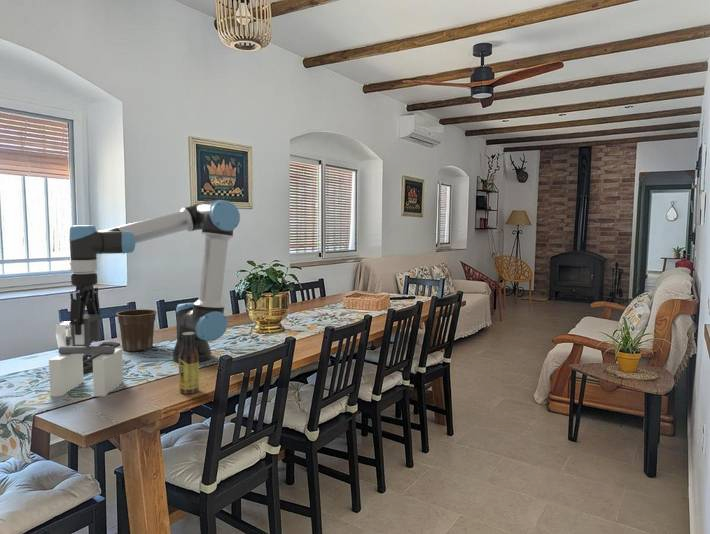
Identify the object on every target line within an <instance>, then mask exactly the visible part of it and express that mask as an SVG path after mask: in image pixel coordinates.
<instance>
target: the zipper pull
mask: <svg viewBox="0 0 710 534" xmlns="http://www.w3.org/2000/svg"><path fill="white" fill-rule="evenodd" d="M97 346H114V347H115V348H119V347H121V343H120V342H115V341H103V342H102V343H100V344H98V345H97ZM100 355H101V354H83V375H85V373H86V374H88V373H89V371H90V372H92V371H93V359H95V358H96V357H98V356H100ZM91 370H92V371H91ZM87 372H88V373H87Z"/></svg>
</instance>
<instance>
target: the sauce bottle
mask: <svg viewBox="0 0 710 534" xmlns="http://www.w3.org/2000/svg"><path fill="white" fill-rule="evenodd" d="M182 338H183V345H182V349H181V352H180V355H179V362H178V386H179V387H178V388H179V393H182V394H183V395H190V394H195V393H197V392H198V391H199V388H200V368H199V367H200V362H199V360H198V351H197V349H196V348H195V341H194V339H195V333H194V332H185V333H182Z"/></svg>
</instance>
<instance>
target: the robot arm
mask: <svg viewBox="0 0 710 534" xmlns="http://www.w3.org/2000/svg"><path fill="white" fill-rule="evenodd" d="M240 221H241V214H240V211H239V209H238V208H237V206H236V204H234V203H233V202H232V201H229V200H224V199H217V200H205V201H201V202H198V203H196V204H192V205H190V206H185V207H182V208H181V209H180V211H177V212H173V213H167V214H165V215H160V216H156V217H151V218H149V219H144V220H140V221H135V222H132V223H127V224H123V225H120V226H119V225H118V226H116V227H111V228H108V229H99V230H97V229H96V226H95V225H84V224H83V225H79V224H77V225H76V224H74V225H71V226H70V228H69V239H68V240H69V250H70V251H69V252H70V262H69V265H70V272H72V273H71V274H70V279H71V280H70V281H71V285H72V286H75V292H70V315H69V316H70V317H69V321H70V324H71V325H74V328H75V345H84V344H85V334H84V324H82V323H83V317H84V314H85V311H86V312H87V314H99V319H101V308H100V307H101V306H100V300H99V288H98V287H94V285H97V284H98V274H97V271H98V260H97V257H98V255H102V254H103V255H104V254H105V255H107V254H108V255H109V254H111V255H112V254H122V255H124V254H130V253H134V251H135V248H136V244H139V243H142V242H146V241H149V240H153V239H158V238H162V237H165V236H169V235H173V234H176V233H180V232H183V231H184V232H185V231H187V232H189V233H190V232H194V231H199V230H201V234H202V235H203V237H204V247H203V256H202V265H201V273H200V280H199V281H200V283H199V290H198V299H197V300H195V302H186V303H179V304H177V306H176V307H175V308H176V309H175V316H176V320H175V323H176V342H175V345H174V349H173V352H172V361H173V362H175V363H179V355H180V352H181V349H182V345H183V338H182V333H185V332H194V333H195V339H194V341H195V348H196V349H197V351H198V360H199V363H201V361H202V362H205V360H206V361H208V360H210V359H212V349H211V347H210V344H209V342H213V341H217V340H219V339H220V338H222V336H224V334H225V333H226V331H227V329H228V324H229V323H228V319H227V317H226V315H225V305H224V304H223V302H222V297H223V288H224V287H223V286H224V277H225V273H226V272H225V271H226V270H225V269H226V264H227V263H226V262H227V261H226V260H227V253H228V246H229V245H228V244H229V241H230V240H231V239H232V238H233V237H234V230H235V229H236V228H237V227H238V226H239V225H240Z"/></svg>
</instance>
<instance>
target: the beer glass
mask: <svg viewBox="0 0 710 534" xmlns="http://www.w3.org/2000/svg"><path fill="white" fill-rule="evenodd" d="M55 325H56V326H55V337H56V343H57V347H58V348H59V347H60V346H73V343H72V325H71V324H70V320H69V321H59V322H57V323H55Z"/></svg>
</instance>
